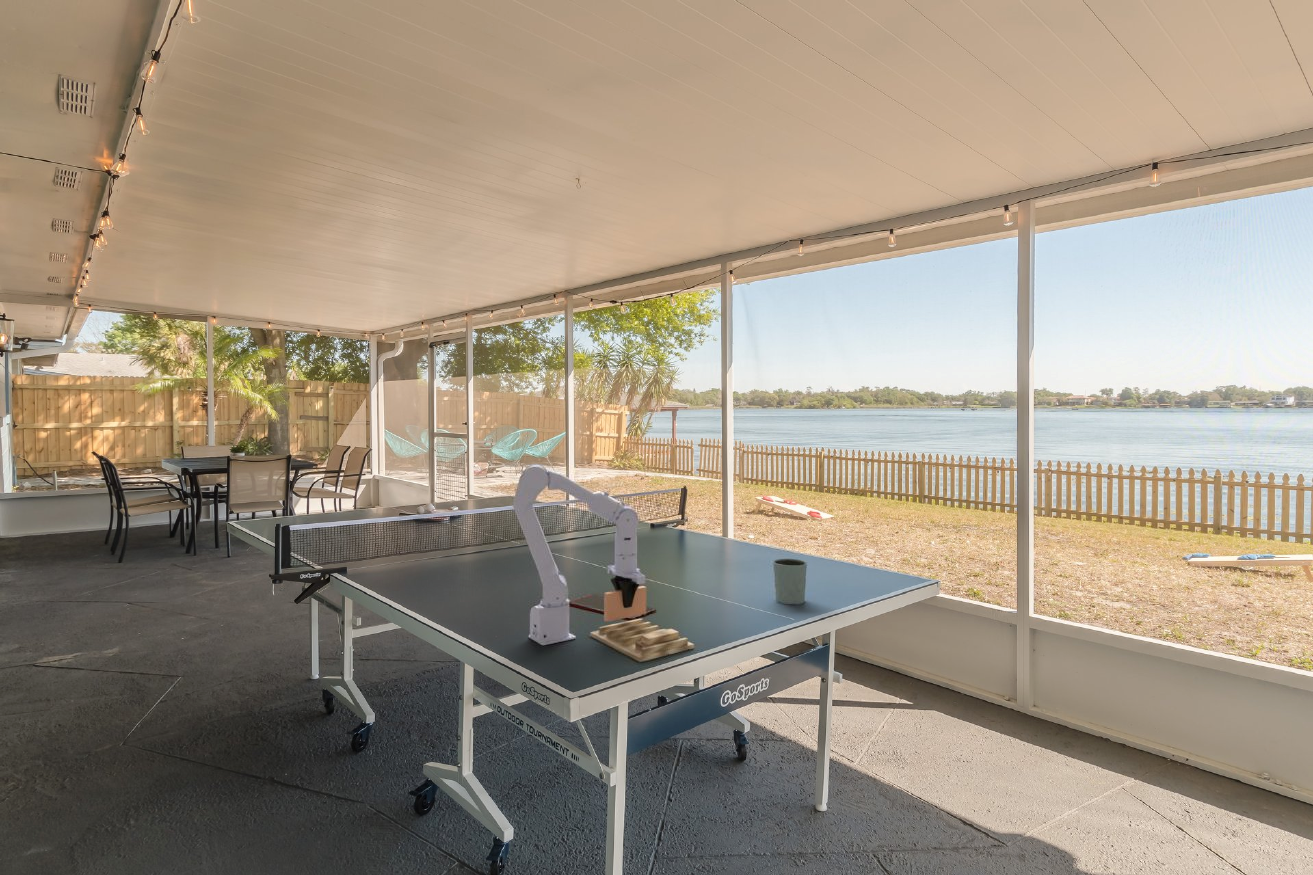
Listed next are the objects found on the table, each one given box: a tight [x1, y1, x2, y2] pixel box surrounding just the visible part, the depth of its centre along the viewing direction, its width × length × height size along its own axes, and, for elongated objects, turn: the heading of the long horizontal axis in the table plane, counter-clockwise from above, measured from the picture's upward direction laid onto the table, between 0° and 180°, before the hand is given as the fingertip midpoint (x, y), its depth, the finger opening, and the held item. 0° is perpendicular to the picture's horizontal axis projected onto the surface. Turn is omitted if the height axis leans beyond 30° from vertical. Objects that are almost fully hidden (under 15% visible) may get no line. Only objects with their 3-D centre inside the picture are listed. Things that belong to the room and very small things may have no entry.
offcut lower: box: [635, 636, 682, 651], centre depth 164 cm, size 11×4×2 cm, turn 126°
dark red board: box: [569, 593, 657, 621], centre depth 199 cm, size 12×2×25 cm
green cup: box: [772, 558, 808, 605], centre depth 208 cm, size 10×10×12 cm
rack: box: [589, 617, 695, 663], centre depth 170 cm, size 16×22×2 cm
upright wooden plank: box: [603, 585, 647, 623], centre depth 175 cm, size 12×2×7 cm, turn 126°
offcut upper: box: [641, 628, 680, 645], centre depth 164 cm, size 9×3×2 cm, turn 126°
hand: (625, 606), depth 175 cm, fingers closed on upright wooden plank, 1 cm apart
